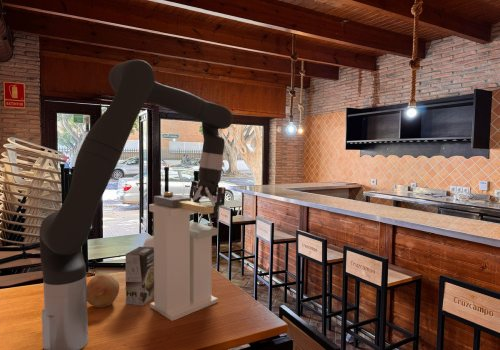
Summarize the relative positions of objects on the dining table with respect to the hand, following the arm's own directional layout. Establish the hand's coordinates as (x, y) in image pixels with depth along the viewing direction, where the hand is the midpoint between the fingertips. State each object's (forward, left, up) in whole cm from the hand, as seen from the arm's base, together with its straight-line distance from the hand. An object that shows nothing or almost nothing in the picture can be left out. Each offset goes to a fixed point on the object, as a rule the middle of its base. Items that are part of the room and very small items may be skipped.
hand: (204, 214), depth 115 cm
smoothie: (-8, +19, -27) cm, 34 cm away
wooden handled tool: (-14, -9, +5) cm, 18 cm away
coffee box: (-18, +10, -27) cm, 34 cm away
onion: (-29, +14, -27) cm, 42 cm away
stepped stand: (-10, -3, -27) cm, 29 cm away
